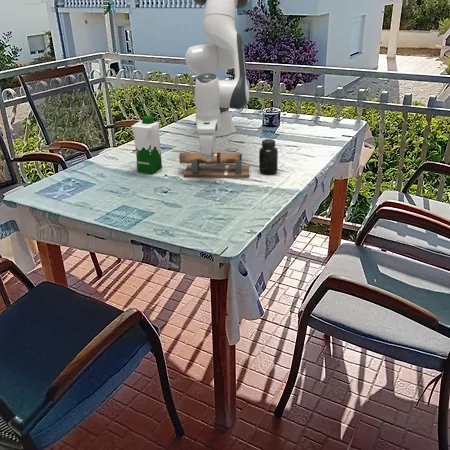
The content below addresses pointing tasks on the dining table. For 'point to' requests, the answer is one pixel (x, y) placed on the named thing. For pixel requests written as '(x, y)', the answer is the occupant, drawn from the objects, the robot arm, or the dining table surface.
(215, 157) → the copper tube
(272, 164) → the supplement bottle
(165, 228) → the dining table surface
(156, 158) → the milk carton
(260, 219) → the dining table surface
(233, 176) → the cradle board
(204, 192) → the dining table surface
